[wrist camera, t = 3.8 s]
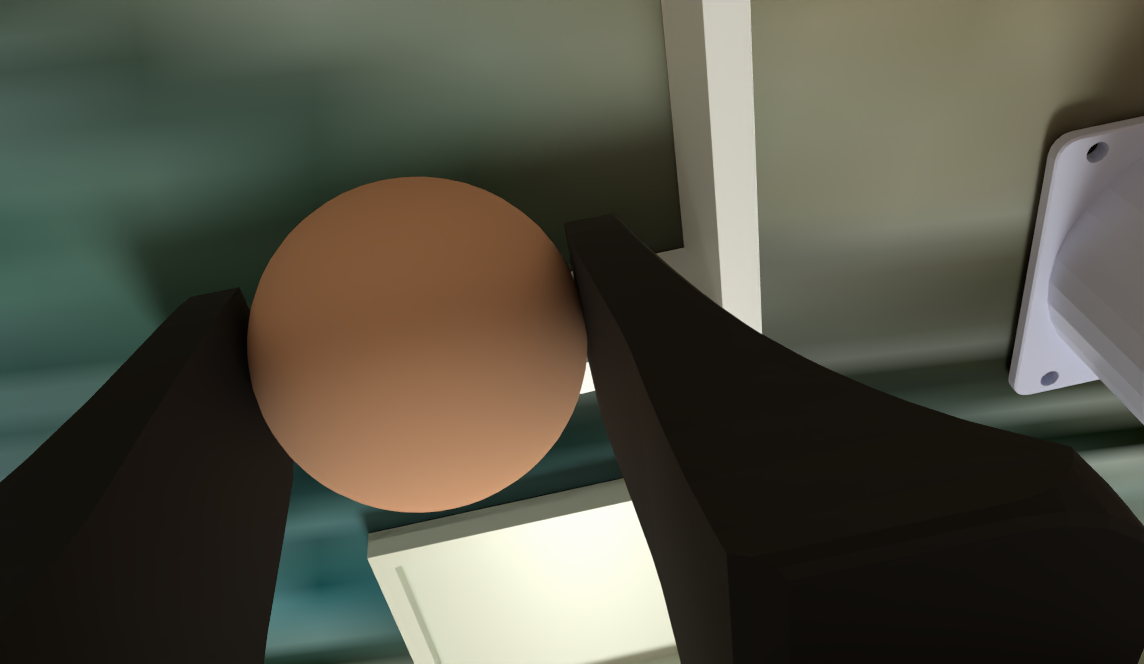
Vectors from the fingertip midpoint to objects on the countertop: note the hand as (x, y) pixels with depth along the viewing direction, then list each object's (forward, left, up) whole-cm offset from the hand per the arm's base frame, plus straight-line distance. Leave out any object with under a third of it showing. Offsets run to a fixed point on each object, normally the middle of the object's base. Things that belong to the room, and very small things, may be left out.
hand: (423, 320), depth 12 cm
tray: (0, +17, -9) cm, 20 cm away
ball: (0, 0, -1) cm, 1 cm away
